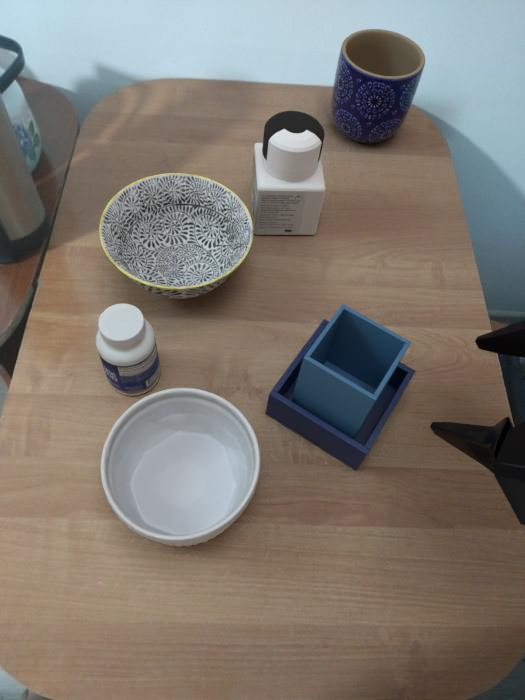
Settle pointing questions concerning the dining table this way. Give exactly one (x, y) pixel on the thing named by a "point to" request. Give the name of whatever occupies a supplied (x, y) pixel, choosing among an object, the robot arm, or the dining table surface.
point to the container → (288, 176)
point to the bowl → (176, 233)
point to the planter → (375, 84)
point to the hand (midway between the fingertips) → (456, 383)
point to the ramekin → (180, 466)
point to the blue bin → (348, 370)
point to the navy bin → (324, 433)
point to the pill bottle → (127, 349)
